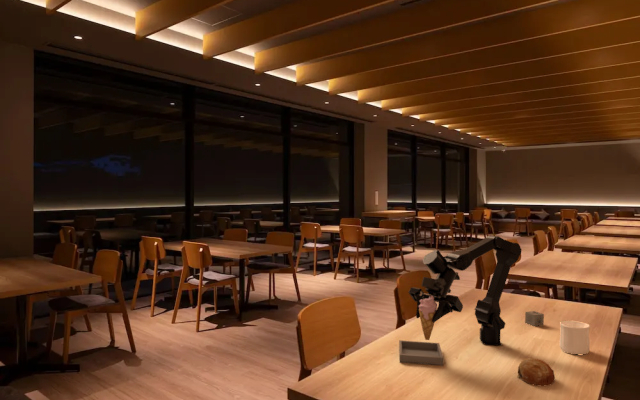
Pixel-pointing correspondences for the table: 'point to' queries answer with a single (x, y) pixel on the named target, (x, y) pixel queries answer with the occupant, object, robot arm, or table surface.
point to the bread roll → (535, 372)
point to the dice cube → (534, 318)
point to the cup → (574, 337)
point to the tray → (420, 352)
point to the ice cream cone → (427, 315)
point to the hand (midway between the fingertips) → (424, 319)
